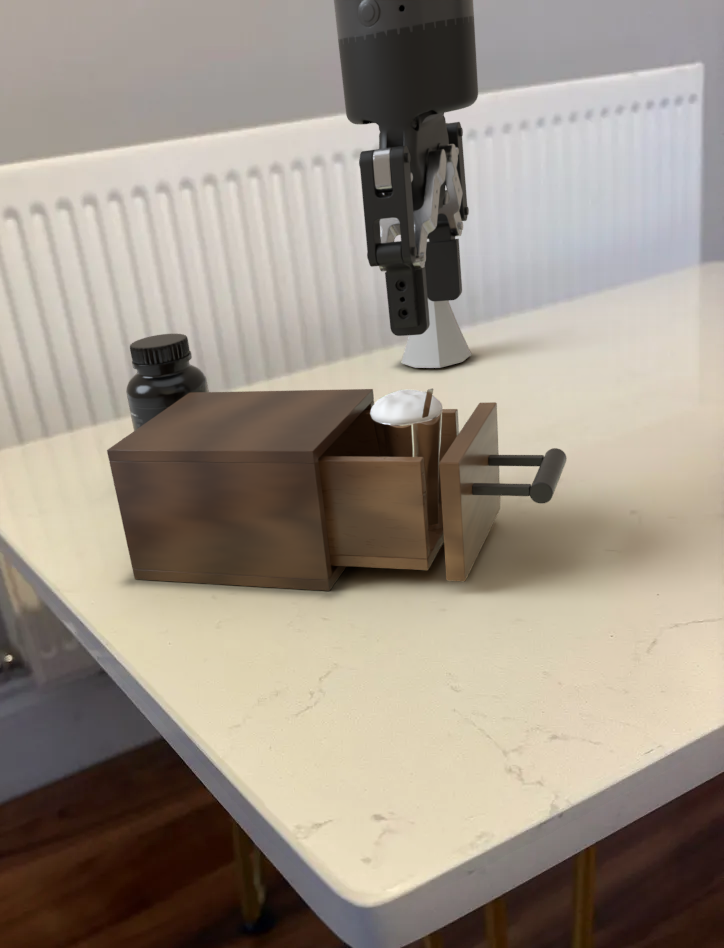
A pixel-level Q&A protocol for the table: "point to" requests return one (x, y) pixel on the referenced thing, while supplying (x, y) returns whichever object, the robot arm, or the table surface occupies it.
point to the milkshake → (412, 436)
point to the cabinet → (233, 487)
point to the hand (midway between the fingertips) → (428, 315)
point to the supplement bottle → (161, 376)
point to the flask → (437, 340)
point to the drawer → (422, 495)
